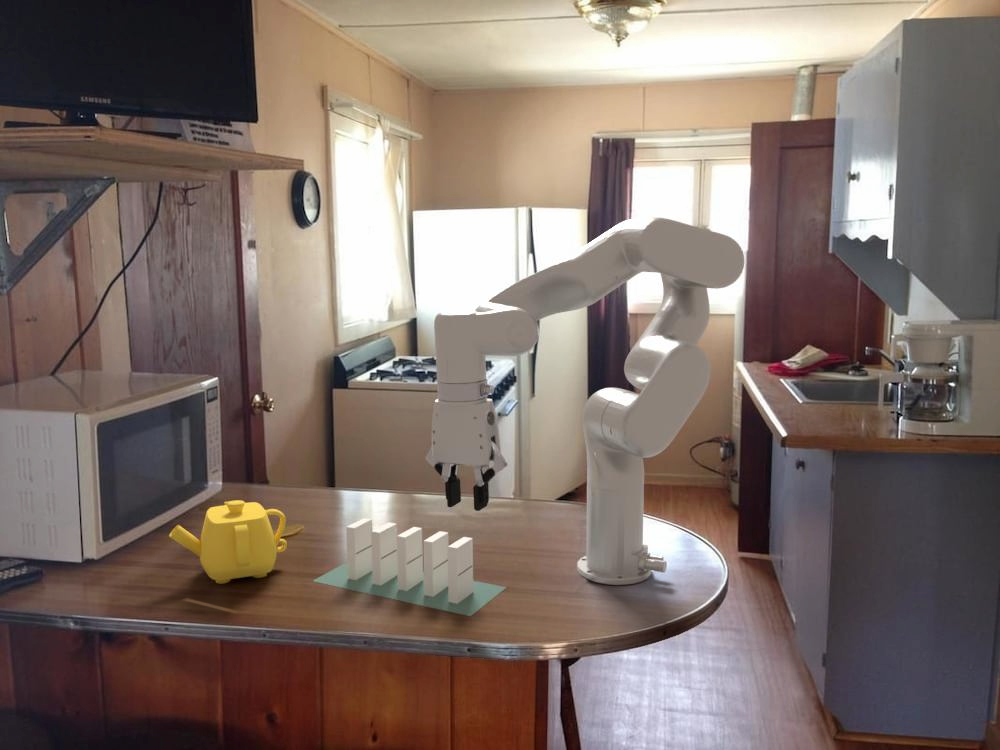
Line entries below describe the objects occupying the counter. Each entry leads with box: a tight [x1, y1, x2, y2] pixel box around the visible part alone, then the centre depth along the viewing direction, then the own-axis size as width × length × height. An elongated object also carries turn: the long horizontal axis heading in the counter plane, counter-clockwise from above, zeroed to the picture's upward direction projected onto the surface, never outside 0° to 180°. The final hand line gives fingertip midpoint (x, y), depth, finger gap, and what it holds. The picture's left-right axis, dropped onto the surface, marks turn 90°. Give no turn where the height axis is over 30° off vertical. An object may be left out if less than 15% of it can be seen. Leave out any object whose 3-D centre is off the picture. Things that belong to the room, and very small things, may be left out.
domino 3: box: [397, 526, 424, 591], centre depth 139 cm, size 2×5×9 cm, turn 153°
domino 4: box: [422, 530, 450, 597], centre depth 137 cm, size 2×5×9 cm, turn 153°
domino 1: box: [346, 517, 373, 580], centre depth 144 cm, size 2×5×9 cm, turn 153°
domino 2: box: [371, 521, 398, 586], centre depth 142 cm, size 2×5×9 cm, turn 153°
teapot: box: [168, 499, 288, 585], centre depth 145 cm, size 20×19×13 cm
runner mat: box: [312, 561, 507, 617], centre depth 140 cm, size 30×12×1 cm, turn 63°
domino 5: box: [448, 536, 474, 604], centre depth 134 cm, size 2×5×9 cm, turn 152°
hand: (467, 505), depth 134 cm, fingers open, 4 cm apart
